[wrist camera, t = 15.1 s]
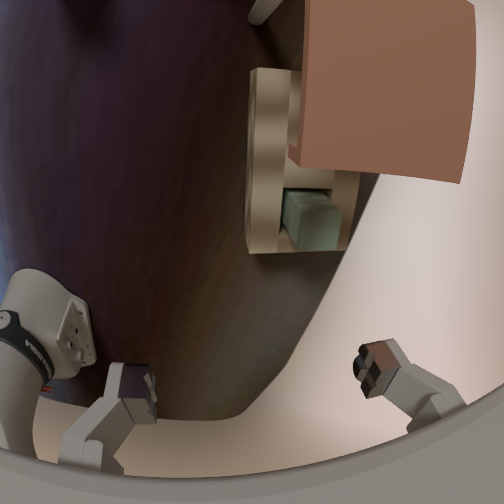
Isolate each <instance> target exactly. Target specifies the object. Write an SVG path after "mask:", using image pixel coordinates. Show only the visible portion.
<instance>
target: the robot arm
mask: <svg viewBox="0 0 504 504" xmlns="http://www.w3.org/2000/svg"><path fill="white" fill-rule="evenodd" d="M358 352H359V355H358V356H357V357H356V358H355V360H354V362H353V371H354V375H355V377H356V379H357V380H359V381H360V382H362V383H361V389H362V391H363V393H364V395H365V397H366V399H369V398H372V397H377V396H380V395H383V396H384V397H386V399H388V400H389V401H390V402H392V403H393V404H394V405H396V406H397V407H398V408H399V409H401V410H402V411H403V412H405V413H406V414H407V415H409V416H410V417H411V418H413V419H412V421H411V422H410V423H409V424H408V425H407V428H406V429H407V431H408V434H406V435H404V436H401V437H399V438H396V439H393V440H391V441H388V442H385V443H382V444H379V445H377V446H373V447H370V448H367V449H364V450H361V451H358V452H355V453H351V454H348V455H344V456H341V457H337V458H333V459H329V460H325V461H321V462H317V463H313V464H308V465H303V466H298V467H293V468H288V469H282V470H276V471H269V472H262V473H254V474H246V475H236V476H223V477H206V478H160V477H141V476H129V475H124V468H123V467H122V466H121V465H120V464H119V463H118V462H117V460H116V459H115V458H114V457H113V455H114V454H115V452H116V451H117V450H118V448H119V447H120V445H121V444H122V443H123V441H124V440H125V439H126V437H127V436H128V434H129V433H130V432H131V430H132V429H133V427H134V426H135V424H156V419H157V409H156V406H155V402H156V401H157V396H158V392H157V383H156V379H155V377H154V376H153V368H152V365H151V364H138V363H116V362H112V363H111V365H110V367H109V372H108V377H107V382H106V387H105V392H104V397H100V398H99V399H98V400H97V401H96V402H95V403H94V404H93V405H92V406H91V407H90V408H89V409H88V410H87V411H86V412H85V413H84V414H83V415H82V416H81V417H80V418H79V419H78V420H77V421H76V422H75V423H74V424H73V425H72V426H71V427H70V428H69V429H68V430H67V431H66V432H65V433H64V434H63V437H62V442H61V447H60V453H59V458H58V464H55V463H51V462H47V461H44V460H40V459H38V458H37V455H36V452H35V448H34V444H33V434H32V429H33V420H34V414H35V409H36V405H37V401H38V397H39V394H40V391H41V392H47V393H51V392H50V391H47V390H49V389H52V387H49V386H46V385H47V383H48V382H49V381H50V380H51V379H64V378H71V377H74V376H76V375H77V374H78V372H79V370H80V368H81V367H82V366H88V365H91V364H94V363H95V362H96V359H97V357H96V352H95V347H94V341H93V336H92V330H91V323H90V317H89V310H88V305H87V303H86V302H85V301H84V300H82V299H80V298H79V297H77V296H75V295H73V294H71V293H70V292H69V291H67V290H66V289H65V288H64V287H63V286H62V285H61V284H60V283H59V282H58V281H57V280H55V279H54V278H52V277H51V276H49V275H48V274H46V273H43V272H41V271H38V270H34V269H22V270H19V271H17V272H15V273H14V274H13V276H12V277H11V279H10V282H9V285H8V288H7V291H6V293H5V296H4V298H3V300H2V303H1V305H0V504H504V383H503V384H502V385H501V386H499V387H497V388H496V389H494V390H493V391H491V392H489V393H488V394H486V395H485V396H483V397H482V398H479V399H478V400H476V401H474V402H472V403H471V404H469V405H466V403H465V402H464V400H463V399H462V397H461V396H460V394H459V393H458V391H457V390H456V388H455V387H454V386H453V385H452V384H450V383H448V382H446V381H444V380H443V379H441V378H439V377H437V376H435V375H434V374H432V373H430V372H428V371H426V370H424V369H423V368H421V367H419V366H417V365H415V364H411V363H410V361H409V360H408V358H407V357H406V355H405V354H404V352H403V351H402V349H401V348H400V346H399V345H398V343H397V342H396V341H395V340H394V339H387V340H383V341H377V342H372V343H367V344H362V345H361V346H360V347H359V350H358Z"/></svg>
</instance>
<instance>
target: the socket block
mask: <svg viewBox="0 0 504 504" xmlns="http://www.w3.org/2000/svg"><path fill="white" fill-rule="evenodd" d="M301 84H302V72H301V71H292V70H282V69H271V68H256V69H254V70H252V71H250V72H249V95H248V118H247V143H246V169H245V197H244V226H243V231H244V235H245V239H246V243H247V247H248V251H249V254H255V253H285V252H315V251H344V250H347V246H348V241H349V236H350V231H351V226H352V221H353V216H354V211H355V206H356V200H357V194H358V189H359V183H360V176H361V172H360V171H347V170H333V169H316V168H300V167H299V166H297V165H296V164H295V163H294V162H293V161H292V160H291V159H289V158H288V146H289V143H297V139H298V127H299V113H300V99H301ZM283 188H318V189H320V190H321V191H322V192H323V193H324V194H325V195H326V196H327V197H328V198H329V199H330V200H331V201H332V202H333V203H334V204H335V205H336V206H337V207H338V208H339V209H340V210H341V211H342V212H343V215H342V221H341V226H340V232H339V237H338V242H337V247H336V250H312V251H298V250H297V248H296V246H295V244H294V242H293V240H292V238H291V237H290V235H289V233H288V231H287V229H286V227H285V225H284V223H283V222H282V220H281V218H280V216H281V204H282V193H283Z"/></svg>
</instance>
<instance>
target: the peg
mask: <svg viewBox="0 0 504 504" xmlns="http://www.w3.org/2000/svg"><path fill="white" fill-rule="evenodd" d="M342 215H343V212H342V211H341V210H340V209H339V208H338V207H337V206H336V205H335V204H334V203H333V202H332V201H331V200H330V199H329V198H328V197H327V196H326V195H325V194H324V193H323V192H322V191H321V190H320V189H318V188H283V193H282V204H281V216H280V218H281V220H282V222H283V223H284V225H285V227H286V229H287V231H288V233H289V235H290V237H291V238H292V240H293V242H294V244H295V246H296V248H297V250H298V251H312V250H336V247H337V242H338V237H339V232H340V226H341V221H342Z"/></svg>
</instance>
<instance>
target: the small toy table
mask: <svg viewBox="0 0 504 504" xmlns="http://www.w3.org/2000/svg"><path fill="white" fill-rule="evenodd" d="M282 1H283V0H256V2H255V4H254V5H253V7H252V9H251V11H250V13H249V14H248V20H249V22H250V23H251V24H253V25H261V24H262V23H264V21H265V20H266V19H267V18H268V17H269V16H270V14H271V13H272V12H273V11H274V10H275V9H276V8H277V6H278V5H279V4H280V3H281V2H282ZM475 73H476V25H475V10H474V5H473V4H471V3H470V2H468V1H467V0H305V27H304V49H303V67H302V84H301V99H300V113H299V127H298V139H297V143H289V146H288V158H289V159H291V160H292V161H293V162H294V163H295V164H296V165H297V166H299V167H300V168H316V169H333V170H347V171H360V172H371V173H382V174H391V175H401V176H409V177H417V178H425V179H431V180H438V181H445V182H451V183H457V184H460V180H461V176H462V171H463V167H464V162H465V156H466V150H467V145H468V139H469V132H470V126H471V119H472V110H473V101H474V89H475Z"/></svg>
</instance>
